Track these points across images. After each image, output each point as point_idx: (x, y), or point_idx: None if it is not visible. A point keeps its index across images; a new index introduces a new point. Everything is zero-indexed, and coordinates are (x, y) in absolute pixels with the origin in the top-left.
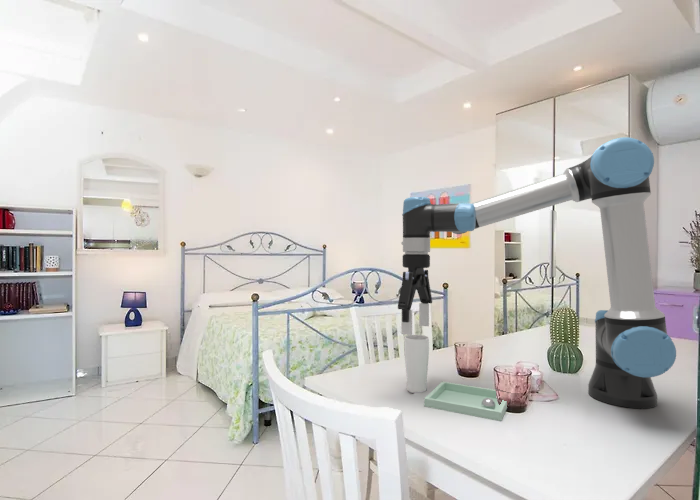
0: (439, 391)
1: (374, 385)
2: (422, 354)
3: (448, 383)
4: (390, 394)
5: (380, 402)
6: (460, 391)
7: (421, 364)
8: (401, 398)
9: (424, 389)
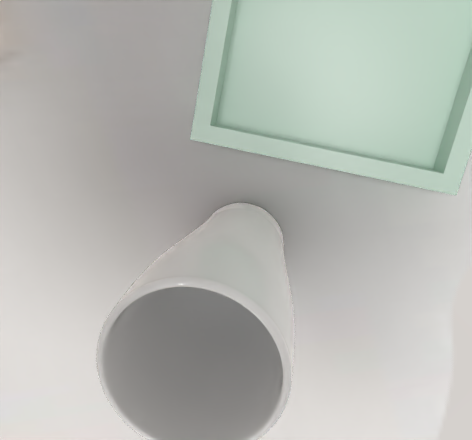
0: (293, 141)
1: None
2: (278, 275)
3: (213, 106)
4: (312, 333)
5: (410, 355)
6: (228, 48)
7: (280, 258)
8: (346, 287)
9: (262, 210)
